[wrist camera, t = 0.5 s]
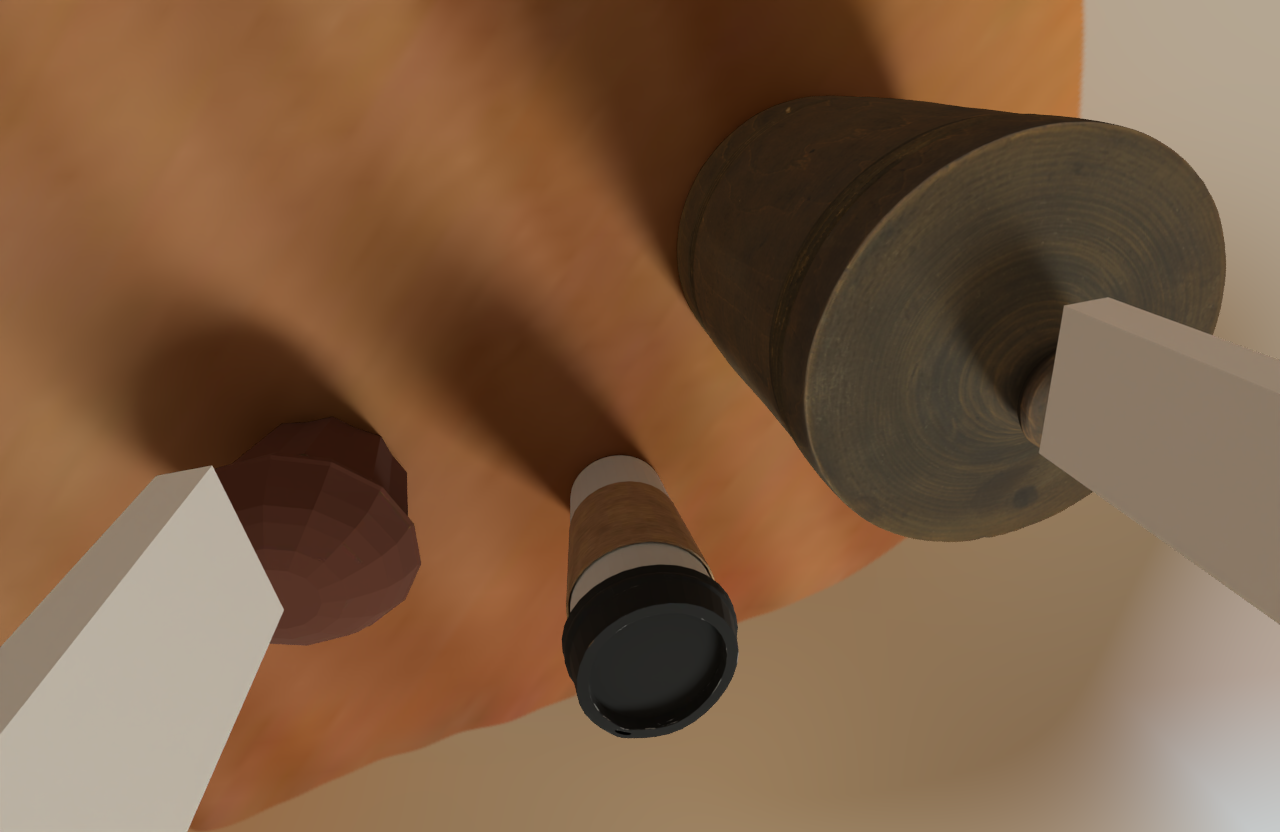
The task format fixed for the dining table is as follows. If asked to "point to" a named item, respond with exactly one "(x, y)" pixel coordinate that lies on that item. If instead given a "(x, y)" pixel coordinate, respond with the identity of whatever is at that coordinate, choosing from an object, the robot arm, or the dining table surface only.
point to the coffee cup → (641, 606)
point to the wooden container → (933, 288)
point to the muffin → (326, 526)
